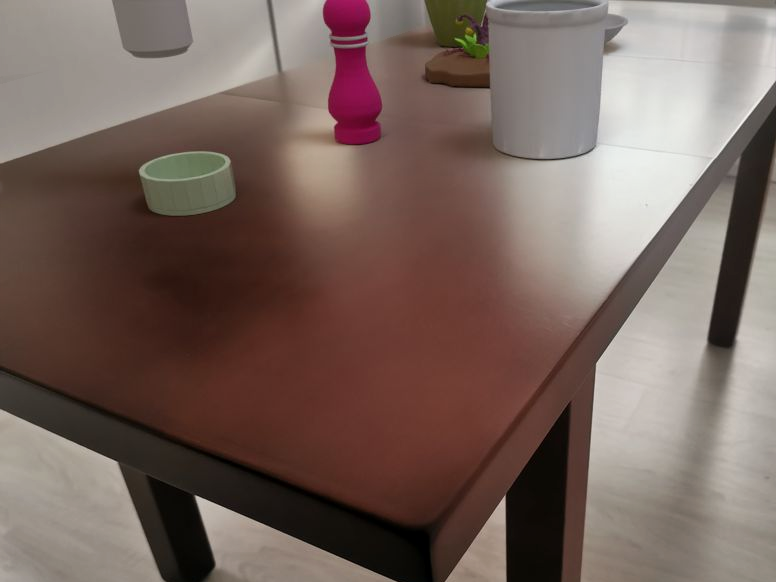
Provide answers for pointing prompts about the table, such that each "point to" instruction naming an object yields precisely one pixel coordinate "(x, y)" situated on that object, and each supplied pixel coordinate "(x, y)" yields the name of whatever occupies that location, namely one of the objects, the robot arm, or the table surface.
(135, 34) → the can
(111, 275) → the table surface
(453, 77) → the plant
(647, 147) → the table surface
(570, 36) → the utensil holder
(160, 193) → the ramekin
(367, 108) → the pepper mill
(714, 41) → the table surface
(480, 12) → the flower pot
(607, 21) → the dish
